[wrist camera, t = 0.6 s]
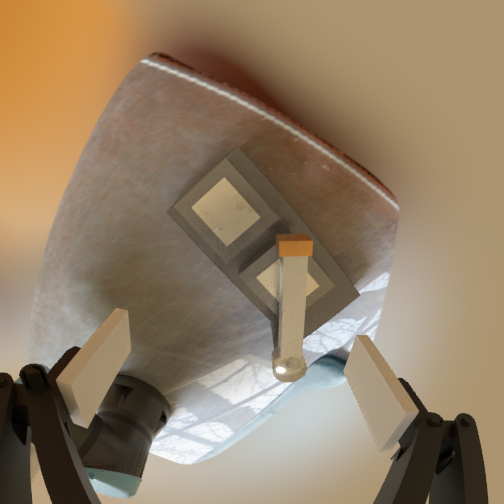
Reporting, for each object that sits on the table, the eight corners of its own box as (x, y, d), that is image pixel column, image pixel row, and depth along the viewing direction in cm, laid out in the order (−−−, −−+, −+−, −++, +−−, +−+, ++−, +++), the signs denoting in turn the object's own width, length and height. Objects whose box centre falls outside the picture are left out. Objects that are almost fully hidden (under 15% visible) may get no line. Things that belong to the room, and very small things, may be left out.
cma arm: (301, 365, 34) (305, 381, 31) (271, 367, 34) (272, 383, 31) (309, 233, 29) (316, 240, 26) (272, 234, 29) (275, 241, 26)
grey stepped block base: (285, 339, 42) (291, 371, 34) (165, 216, 37) (144, 227, 29) (353, 286, 40) (373, 310, 32) (238, 148, 34) (235, 140, 27)
